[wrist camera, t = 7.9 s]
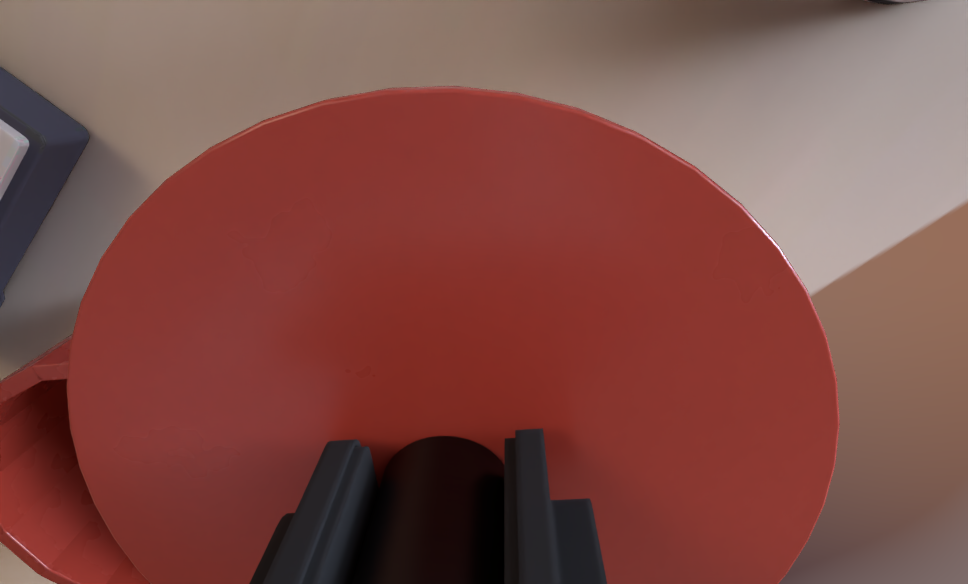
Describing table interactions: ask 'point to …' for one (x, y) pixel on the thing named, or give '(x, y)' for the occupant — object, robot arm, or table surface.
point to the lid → (451, 346)
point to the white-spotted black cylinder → (892, 1)
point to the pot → (51, 482)
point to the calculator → (30, 166)
